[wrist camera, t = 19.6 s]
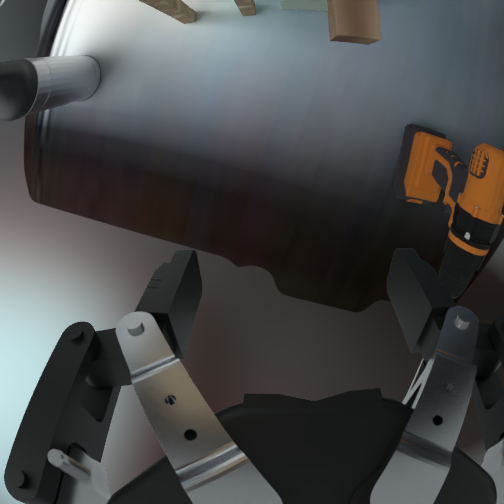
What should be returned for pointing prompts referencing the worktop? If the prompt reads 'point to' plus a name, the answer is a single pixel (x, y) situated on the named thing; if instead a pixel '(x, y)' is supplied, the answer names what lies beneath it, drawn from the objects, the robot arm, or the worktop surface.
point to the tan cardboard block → (353, 21)
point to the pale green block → (305, 5)
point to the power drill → (454, 197)
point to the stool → (174, 7)
